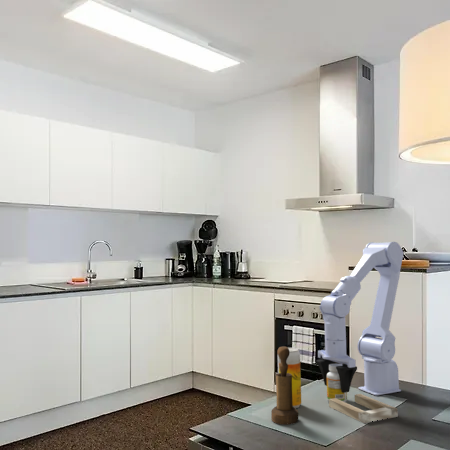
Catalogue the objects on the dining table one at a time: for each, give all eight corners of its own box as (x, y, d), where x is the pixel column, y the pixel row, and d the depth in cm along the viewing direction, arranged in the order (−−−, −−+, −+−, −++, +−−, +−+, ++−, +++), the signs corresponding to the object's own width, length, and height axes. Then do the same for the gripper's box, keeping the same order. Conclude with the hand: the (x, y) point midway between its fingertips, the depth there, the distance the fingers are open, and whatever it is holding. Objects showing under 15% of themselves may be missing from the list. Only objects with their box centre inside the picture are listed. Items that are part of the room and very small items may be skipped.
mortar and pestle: (268, 423, 119) (266, 348, 120) (275, 414, 125) (273, 343, 126) (295, 426, 117) (293, 349, 118) (300, 417, 123) (299, 344, 124)
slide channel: (360, 401, 135) (360, 393, 135) (397, 416, 122) (397, 408, 122) (329, 406, 131) (328, 399, 131) (364, 423, 118) (363, 414, 118)
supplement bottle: (334, 396, 140) (333, 361, 140) (350, 400, 136) (349, 364, 136) (323, 400, 136) (322, 365, 136) (340, 404, 132) (339, 368, 133)
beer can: (302, 409, 129) (301, 351, 130) (279, 409, 129) (278, 351, 130) (299, 402, 135) (298, 347, 136) (277, 402, 135) (276, 347, 136)
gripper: (308, 336, 142) (309, 383, 141) (339, 344, 129) (341, 397, 128) (328, 334, 145) (330, 380, 144) (361, 342, 131) (362, 393, 131)
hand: (336, 388), depth 136 cm, fingers open, 7 cm apart
